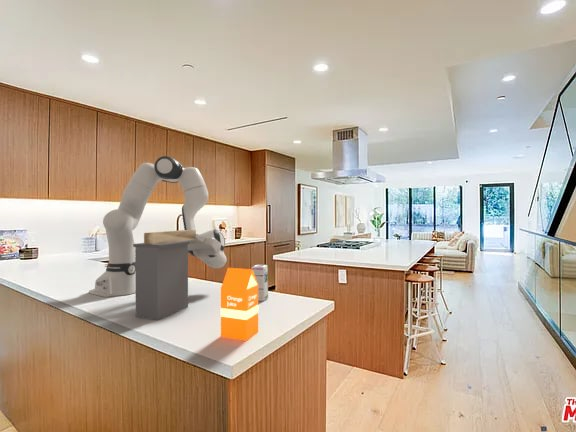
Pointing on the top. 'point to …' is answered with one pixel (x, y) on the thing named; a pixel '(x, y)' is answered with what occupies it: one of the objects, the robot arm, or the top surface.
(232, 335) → the orange juice
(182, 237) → the maple bar
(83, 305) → the top surface
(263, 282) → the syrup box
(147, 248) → the pedestal
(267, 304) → the top surface
